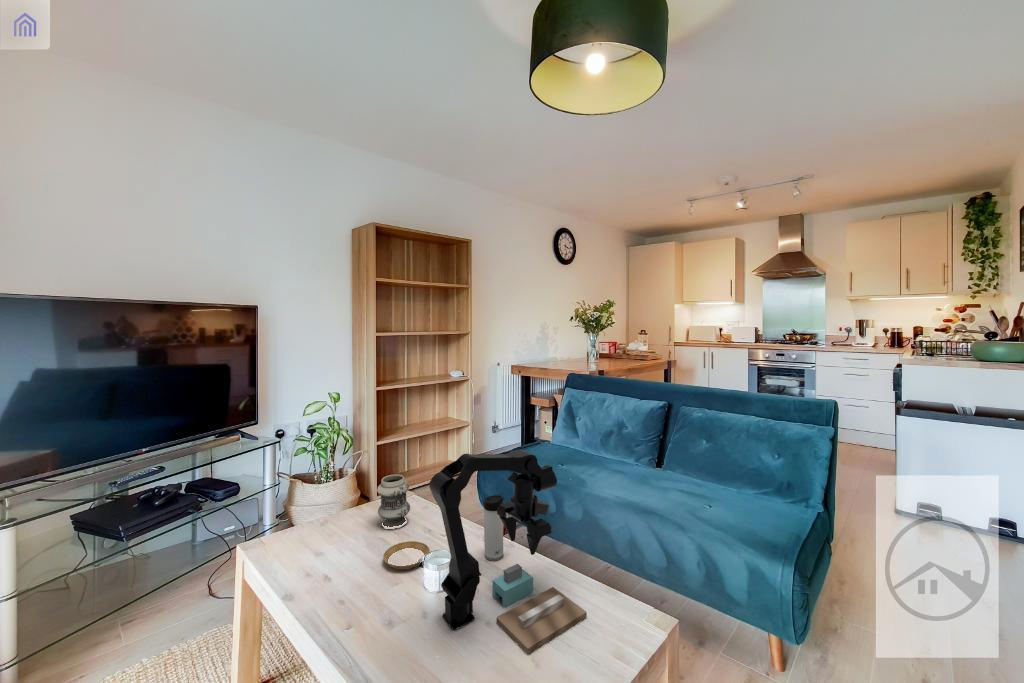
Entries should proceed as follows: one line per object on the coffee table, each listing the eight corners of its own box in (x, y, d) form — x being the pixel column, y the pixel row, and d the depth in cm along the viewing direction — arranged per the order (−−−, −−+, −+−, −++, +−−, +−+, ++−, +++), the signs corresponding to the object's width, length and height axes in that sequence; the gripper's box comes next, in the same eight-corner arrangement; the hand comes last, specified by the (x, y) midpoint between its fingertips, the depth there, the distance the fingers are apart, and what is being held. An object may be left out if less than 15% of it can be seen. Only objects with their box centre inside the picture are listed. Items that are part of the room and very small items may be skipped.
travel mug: (502, 562, 136) (501, 502, 135) (482, 560, 138) (481, 500, 136) (506, 551, 142) (505, 494, 141) (487, 549, 144) (486, 492, 143)
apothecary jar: (385, 515, 169) (384, 471, 168) (414, 516, 168) (413, 472, 167) (372, 530, 157) (371, 483, 156) (404, 532, 156) (402, 484, 155)
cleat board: (527, 654, 99) (527, 640, 99) (496, 622, 110) (496, 609, 109) (586, 617, 111) (586, 604, 111) (553, 591, 122) (553, 580, 121)
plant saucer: (405, 544, 148) (405, 536, 148) (438, 554, 142) (438, 547, 141) (373, 566, 135) (373, 558, 135) (408, 579, 128) (408, 570, 128)
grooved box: (505, 608, 115) (504, 580, 114) (492, 597, 120) (492, 570, 119) (533, 593, 121) (533, 567, 120) (520, 583, 126) (520, 557, 125)
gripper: (566, 499, 119) (565, 552, 120) (525, 479, 134) (524, 527, 135) (536, 508, 113) (535, 565, 113) (496, 486, 127) (495, 537, 128)
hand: (522, 547), depth 123 cm, fingers open, 9 cm apart
